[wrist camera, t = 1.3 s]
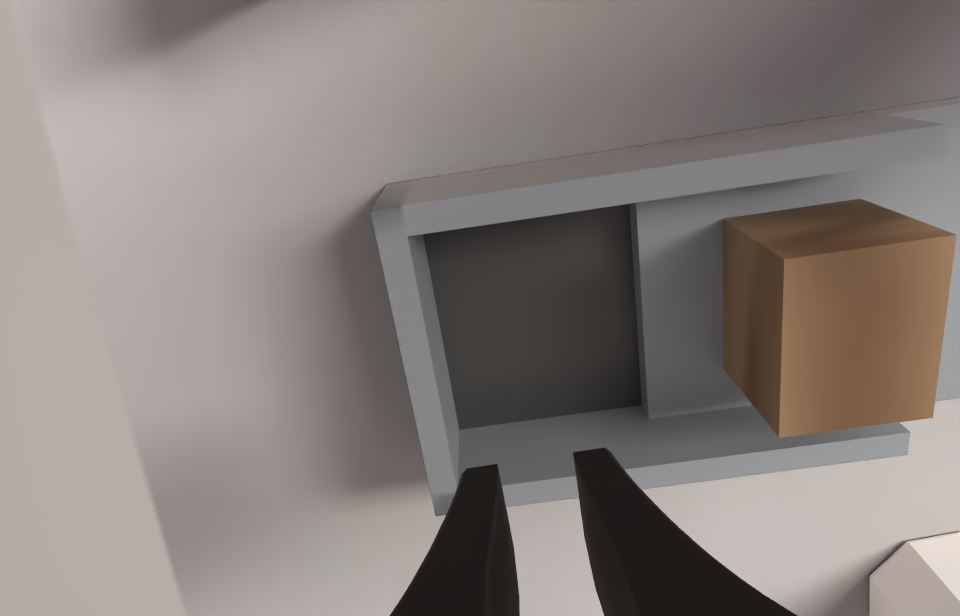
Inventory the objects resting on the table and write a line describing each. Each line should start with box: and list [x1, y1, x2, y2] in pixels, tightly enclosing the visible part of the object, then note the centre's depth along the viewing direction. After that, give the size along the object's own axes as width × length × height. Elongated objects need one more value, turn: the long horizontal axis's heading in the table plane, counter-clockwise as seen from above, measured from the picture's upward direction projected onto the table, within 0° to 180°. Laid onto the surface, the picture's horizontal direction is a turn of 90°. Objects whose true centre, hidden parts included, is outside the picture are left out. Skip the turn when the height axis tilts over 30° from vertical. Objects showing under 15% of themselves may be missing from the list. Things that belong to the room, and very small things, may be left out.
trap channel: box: [370, 97, 960, 516], centre depth 19 cm, size 26×10×4 cm, turn 98°
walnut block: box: [723, 199, 957, 438], centre depth 18 cm, size 4×5×4 cm
